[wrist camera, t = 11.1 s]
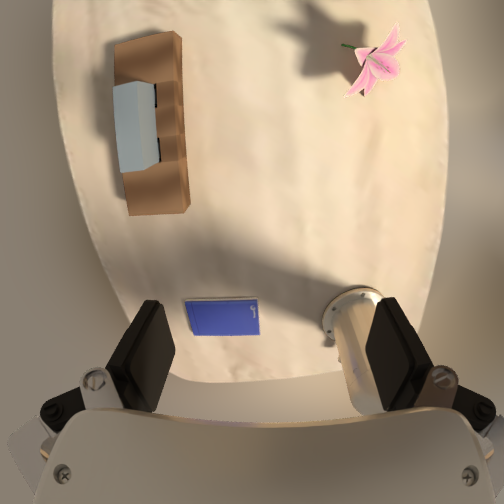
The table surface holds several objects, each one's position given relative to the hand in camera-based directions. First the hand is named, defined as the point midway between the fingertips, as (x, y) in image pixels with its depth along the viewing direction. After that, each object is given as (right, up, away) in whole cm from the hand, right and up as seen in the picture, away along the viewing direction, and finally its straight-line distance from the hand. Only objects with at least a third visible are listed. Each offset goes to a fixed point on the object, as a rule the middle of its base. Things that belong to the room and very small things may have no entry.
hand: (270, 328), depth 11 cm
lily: (+14, +28, +17) cm, 36 cm away
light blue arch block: (-14, +21, +21) cm, 33 cm away
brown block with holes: (-14, +21, +21) cm, 33 cm away
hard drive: (-6, -8, +37) cm, 38 cm away
